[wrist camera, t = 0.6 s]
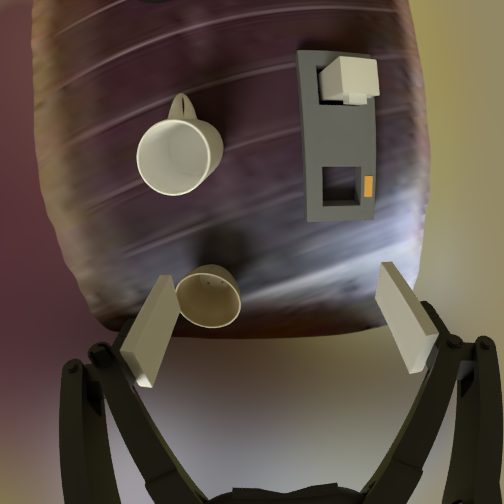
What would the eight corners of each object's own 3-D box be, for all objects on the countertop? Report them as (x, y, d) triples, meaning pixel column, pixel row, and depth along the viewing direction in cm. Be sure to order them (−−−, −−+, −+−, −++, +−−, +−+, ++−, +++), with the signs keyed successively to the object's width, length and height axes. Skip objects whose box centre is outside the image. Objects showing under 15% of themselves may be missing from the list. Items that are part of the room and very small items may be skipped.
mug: (223, 94, 34) (209, 84, 25) (225, 176, 40) (212, 194, 30) (164, 100, 35) (133, 95, 25) (168, 178, 40) (140, 197, 30)
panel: (294, 55, 31) (297, 49, 28) (363, 58, 30) (370, 54, 28) (304, 215, 42) (307, 222, 39) (366, 213, 41) (373, 219, 38)
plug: (318, 74, 32) (339, 56, 21) (345, 75, 32) (376, 59, 21) (320, 107, 34) (343, 101, 24) (347, 108, 34) (380, 104, 23)
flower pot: (231, 243, 44) (226, 265, 38) (252, 294, 48) (250, 320, 42) (176, 259, 46) (163, 282, 39) (199, 306, 50) (191, 332, 44)
